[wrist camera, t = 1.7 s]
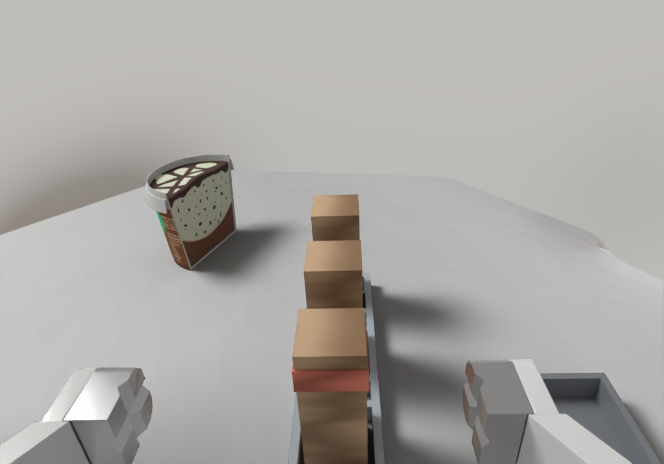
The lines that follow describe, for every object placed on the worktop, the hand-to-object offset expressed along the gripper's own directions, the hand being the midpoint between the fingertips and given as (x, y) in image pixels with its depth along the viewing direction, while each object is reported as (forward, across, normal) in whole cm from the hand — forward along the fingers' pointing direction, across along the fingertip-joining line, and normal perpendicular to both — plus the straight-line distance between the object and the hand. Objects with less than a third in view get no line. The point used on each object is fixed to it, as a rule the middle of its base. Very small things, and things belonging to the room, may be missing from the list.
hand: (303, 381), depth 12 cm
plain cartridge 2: (+20, 0, +20) cm, 28 cm away
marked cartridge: (+12, 0, +20) cm, 24 cm away
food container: (+40, +18, +20) cm, 48 cm away
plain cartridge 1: (+28, 0, +20) cm, 35 cm away
